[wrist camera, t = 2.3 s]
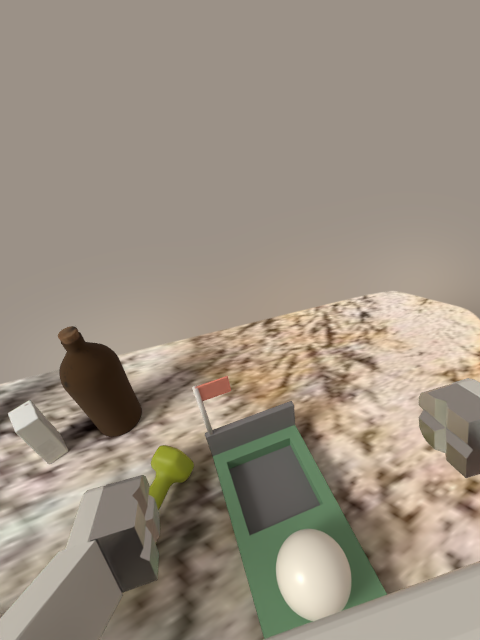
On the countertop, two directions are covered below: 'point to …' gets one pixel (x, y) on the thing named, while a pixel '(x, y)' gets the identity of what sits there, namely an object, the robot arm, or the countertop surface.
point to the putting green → (277, 504)
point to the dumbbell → (168, 471)
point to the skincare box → (38, 432)
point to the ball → (313, 574)
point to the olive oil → (98, 384)
